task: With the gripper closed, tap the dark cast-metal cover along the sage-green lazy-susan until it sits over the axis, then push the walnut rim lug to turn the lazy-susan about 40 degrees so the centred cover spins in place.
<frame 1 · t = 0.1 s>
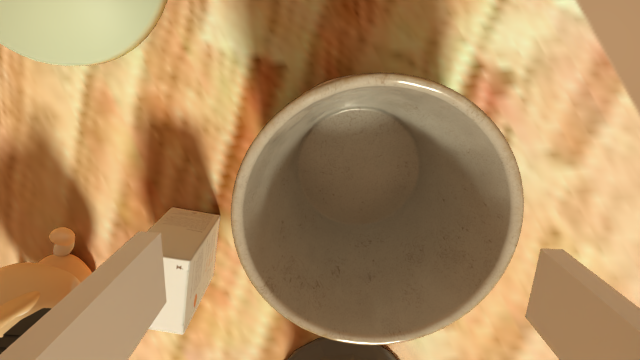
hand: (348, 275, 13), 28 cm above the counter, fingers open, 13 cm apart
small box: (194, 241, 44), on the counter
planter: (356, 163, 41), on the counter
kitten: (70, 274, 45), on the counter
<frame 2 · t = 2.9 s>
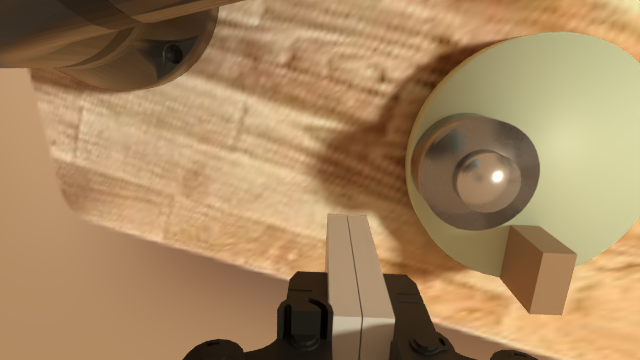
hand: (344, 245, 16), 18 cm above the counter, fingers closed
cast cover: (461, 163, 30), point 3 cm above the counter, touching turntable
turntable: (547, 171, 29), point 4 cm above the counter, hinge at 0.0°, touching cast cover
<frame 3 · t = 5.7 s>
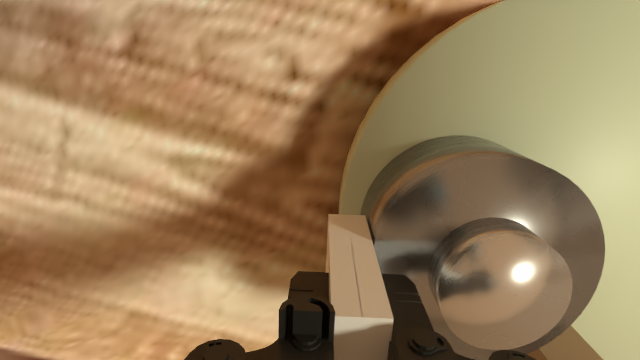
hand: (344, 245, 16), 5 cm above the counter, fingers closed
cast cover: (449, 224, 17), point 3 cm above the counter, touching gripper, turntable
turntable: (587, 241, 16), point 4 cm above the counter, hinge at 0.0°, touching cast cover
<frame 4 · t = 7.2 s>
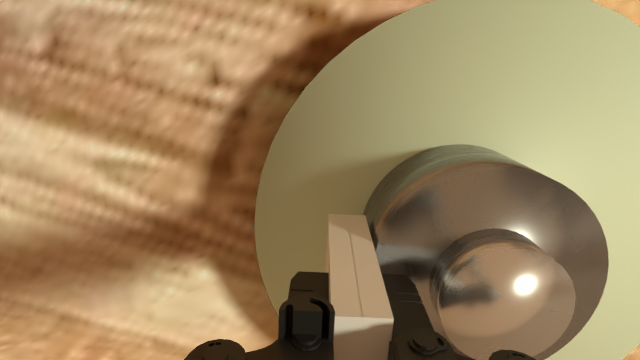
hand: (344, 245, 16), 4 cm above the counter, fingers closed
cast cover: (450, 233, 17), point 3 cm above the counter, touching turntable
turntable: (494, 253, 15), point 4 cm above the counter, hinge at 0.0°, touching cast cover
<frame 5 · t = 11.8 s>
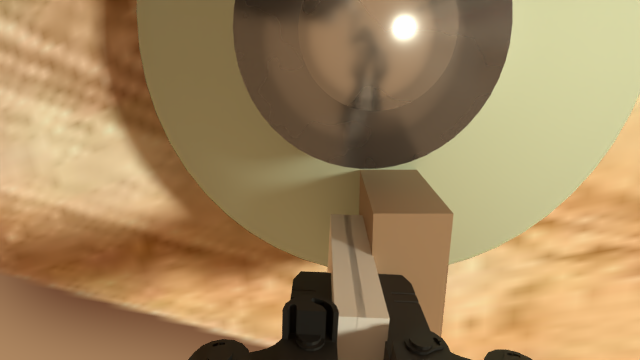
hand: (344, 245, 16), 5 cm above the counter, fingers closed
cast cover: (360, 42, 15), point 3 cm above the counter, touching turntable
turntable: (401, 43, 13), point 4 cm above the counter, hinge at 2.3°, touching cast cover, gripper
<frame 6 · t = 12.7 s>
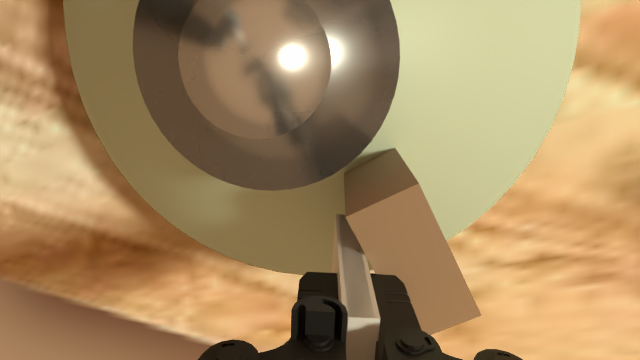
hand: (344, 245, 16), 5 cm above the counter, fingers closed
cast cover: (283, 63, 15), point 3 cm above the counter, touching turntable
turntable: (311, 48, 14), point 4 cm above the counter, hinge at 30.2°, touching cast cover, gripper
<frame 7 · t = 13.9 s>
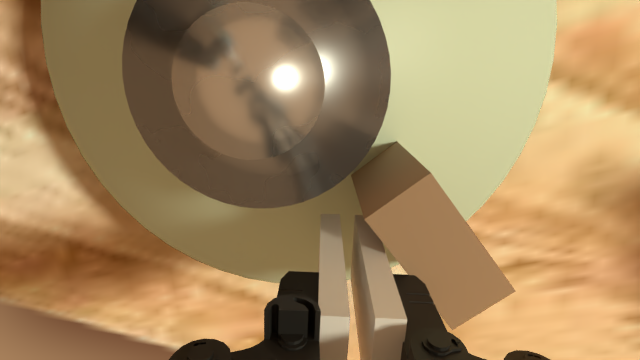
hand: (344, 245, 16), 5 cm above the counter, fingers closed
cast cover: (272, 79, 15), point 3 cm above the counter, touching turntable
turntable: (298, 59, 14), point 5 cm above the counter, hinge at 41.1°, touching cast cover, gripper
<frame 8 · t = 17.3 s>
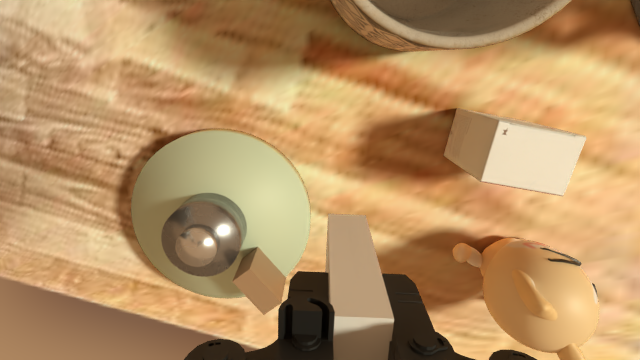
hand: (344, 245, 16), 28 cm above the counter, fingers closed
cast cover: (211, 226, 43), point 3 cm above the counter, touching turntable
small box: (482, 137, 43), on the counter
turntable: (217, 225, 41), point 5 cm above the counter, hinge at 40.4°, touching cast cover
kitten: (503, 259, 47), on the counter
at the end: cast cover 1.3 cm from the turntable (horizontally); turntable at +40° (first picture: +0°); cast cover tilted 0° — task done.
